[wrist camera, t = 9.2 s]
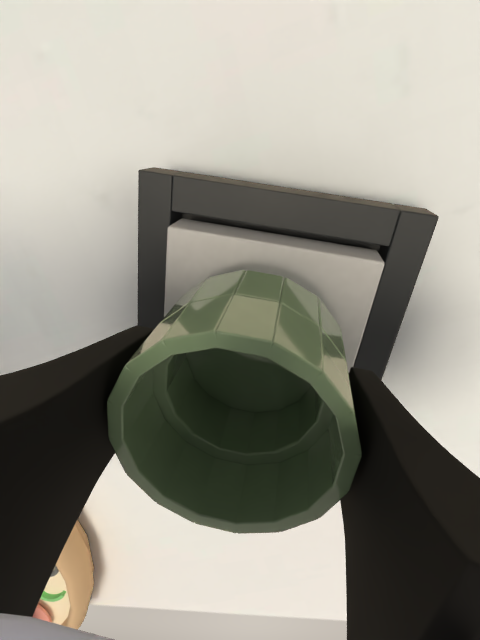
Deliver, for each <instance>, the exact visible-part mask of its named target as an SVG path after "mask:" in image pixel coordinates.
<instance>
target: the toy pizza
mask: <svg viewBox="0 0 480 640" xmlns="http://www.w3.org/2000/svg"><path fill="white" fill-rule="evenodd" d="M93 570H94V566H93V561H92V556H91V551H90V547H89V542H88V537H87V535H86V533H85V531H84V530H83V528H82V526H81V525H80V523H79V521H78V520H77V521H76V523H75V525H74V527H73V529H72V531H71V534H70V536H69V538H68V540H67V542H66V544H65V546H64V548H63V550H62V552H61V554H60V556H59V559H58V561H57V563H56V565H55V567H54V569H53V572H52V574H51V576H50V578H49V580H48V582H47V585H46V587H45V589H44V591H43V593H42V596H41V598H40V600H39V602H38V605H37V607H36V609H35V612H34V614H33V616H32V617H33V618H37V619H41V620H44V621H48V622H52V623H55V624H59V625H63V626H66V627H70V628H74V629H77V630H78V628H79V627H80V626H81V624H82V622H83V621H84V618H85V616H86V613H87V609H88V606H89V602H90V598H91V594H92V590H93V585H94V580H93Z"/></svg>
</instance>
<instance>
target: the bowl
mask: <svg viewBox="0 0 480 640" xmlns="http://www.w3.org/2000/svg"><path fill="white" fill-rule="evenodd" d="M107 416H108V438H109V441H110V443H111V445H112V447H113V449H114V451H115V453H116V455H117V457H118V459H119V461H120V463H121V465H122V467H123V469H124V471H125V473H127V475H128V476H129V477H130V478H131V479H132V480H133V481H134V482H135V483H136V484H137V485H138V486H139V487H140V488H141V489H142V490H143V491H144V492H145V493H146V494H147V495H148V496H149V497H150V498H152V499H153V500H154V501H155V502H157V504H159V505H161V506H163V507H165V508H167V509H168V510H170V511H172V512H174V513H176V514H178V515H180V516H182V517H183V518H185V519H187V520H189V521H191V522H193V523H194V522H195V523H196V524H199V525H203V526H208V527H212V528H216V529H220V530H224V531H228V532H233V533H271V532H282V531H285V530H288V529H291V528H294V527H297V526H299V525H302V524H305V523H308V522H311V521H314V520H316V519H318V518H320V517H322V516H323V515H324V514H325V513H326V512H327V511H328V510H329V509H330V508H332V507H333V506H334V505H335V504H336V503H337V502H338V501H339V500H341V499H342V498H343V497H344V496H345V495H346V494H347V493H348V491H349V490H350V487H351V485H352V482H353V479H354V477H355V474H356V471H357V468H358V466H359V463H360V460H361V457H362V448H361V442H360V436H359V430H358V424H357V419H356V413H355V407H354V401H353V395H352V389H351V383H350V377H349V371H348V365H347V359H346V354H345V348H344V343H343V337H342V332H341V329H340V326H339V324H338V323H337V322H336V320H335V319H334V317H333V316H332V315H331V313H330V312H329V310H328V309H327V308H326V306H325V305H324V304H323V302H322V301H321V299H319V298H318V297H317V296H316V295H314V294H313V293H311V292H309V291H308V290H306V289H305V288H303V287H301V286H300V285H298V284H296V283H295V282H293V281H292V280H290V279H288V278H284V277H282V276H278V275H272V274H267V273H261V272H255V271H250V270H247V271H245V270H240V271H235V272H231V273H226V274H221V275H217V276H212V277H209V278H207V279H205V280H204V281H202V282H201V283H200V284H198V285H197V286H195V287H194V288H193V289H191V290H190V291H188V292H187V293H186V294H184V295H183V296H182V297H181V298H180V299H179V300H178V301H177V302H176V304H175V305H174V306H173V307H172V308H171V310H170V311H169V312H168V313H167V315H166V316H165V317H164V318H163V319H162V321H161V322H160V323H159V324H158V326H157V327H156V328H155V329H154V330H153V332H152V333H151V334H150V335H149V336H148V338H147V339H146V340H145V341H144V342H143V344H142V345H141V346H140V347H139V349H138V350H137V351H136V352H135V353H134V355H133V356H132V357H131V358H130V360H129V361H128V362H127V363H126V364H125V366H124V367H123V369H122V371H121V373H120V375H119V377H118V379H117V381H116V383H115V385H114V387H113V389H112V391H111V393H110V395H109V397H108V401H107Z"/></svg>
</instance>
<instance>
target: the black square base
mask: <svg viewBox="0 0 480 640" xmlns="http://www.w3.org/2000/svg"><path fill="white" fill-rule="evenodd" d="M182 218H183V219H189V220H196V221H202V222H208V223H214V224H220V225H226V226H232V227H238V228H244V229H251V230H257V231H263V232H269V233H275V234H281V235H287V236H293V237H299V238H306V239H312V240H318V241H324V242H330V243H336V244H342V245H348V246H354V247H361V248H367V249H373V250H376V251H377V252H378V253H379V255H380V256H381V258H382V260H383V261H384V264H385V265H384V268H383V271H382V274H381V278H380V281H379V284H378V287H377V291H376V294H375V297H374V301H373V304H372V307H371V310H370V314H369V317H368V320H367V323H366V327H365V330H364V333H363V336H362V340H361V343H360V346H359V349H358V353H357V356H356V359H355V362H354V366H353V367H355V368H360V369H365V370H370V371H373V372H374V373H375V374H376V375H377V376H378V378H379V379H380V380H382V377H383V374H384V371H385V368H386V365H387V363H388V360H389V357H390V354H391V351H392V348H393V346H394V343H395V340H396V337H397V334H398V331H399V328H400V326H401V323H402V320H403V317H404V314H405V311H406V309H407V306H408V303H409V300H410V297H411V294H412V292H413V289H414V286H415V283H416V280H417V277H418V275H419V272H420V269H421V266H422V263H423V260H424V258H425V255H426V252H427V249H428V246H429V243H430V241H431V238H432V235H433V232H434V229H435V226H436V224H437V221H438V216H437V215H435V214H434V213H432V212H430V211H429V210H427V209H423V208H417V207H410V206H404V205H397V204H394V205H393V204H391V203H385V202H378V201H371V200H365V199H358V198H352V197H345V196H339V195H332V194H325V193H319V192H312V191H306V190H299V189H293V188H286V187H279V186H273V185H266V184H260V183H253V182H246V181H240V180H233V179H227V178H220V177H214V176H207V175H200V174H194V173H187V172H185V173H184V172H181V171H174V170H168V169H161V168H148V169H142V170H139V199H138V326H142V327H147V328H153V329H155V328H156V327H157V326H158V324H159V323H160V322H161V321H162V319H163V318H164V305H165V280H166V255H167V230H168V227H169V226H170V225H172V224H173V223H175V222H177V221H178V220H180V219H182Z"/></svg>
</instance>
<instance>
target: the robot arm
mask: <svg viewBox="0 0 480 640" xmlns="http://www.w3.org/2000/svg"><path fill="white" fill-rule="evenodd" d="M153 330H154V329H153V328H147V327H142V326H135V327H132V328H129V329H127V330H124V331H122V332H120V333H117V334H115V335H113V336H110V337H108V338H106V339H104V340H101V341H99V342H97V343H94V344H92V345H90V346H87V347H85V348H83V349H80V350H78V351H75V352H72V353H70V354H67V355H65V356H62V357H59V358H57V359H54V360H51V361H49V362H46V363H43V364H40V365H37V366H33V367H30V368H27V369H23V370H20V371H16V372H13V373H9V374H5V375H1V376H0V640H114V639H110V638H106V637H103V636H99V635H95V634H92V633H88V632H85V631H81V630H77V629H74V628H70V627H66V626H63V625H59V624H55V623H52V622H48V621H44V620H41V619H37V618H33V617H32V616H33V614H34V612H35V609H36V607H37V605H38V602H39V600H40V598H41V596H42V593H43V591H44V589H45V587H46V585H47V582H48V580H49V578H50V576H51V574H52V572H53V569H54V567H55V565H56V563H57V561H58V559H59V556H60V554H61V552H62V550H63V548H64V546H65V544H66V542H67V540H68V538H69V536H70V534H71V531H72V529H73V527H74V525H75V523H76V521H77V519H78V517H79V515H80V513H81V511H82V509H83V507H84V505H85V503H86V502H87V500H88V498H89V496H90V494H91V492H92V490H93V488H94V486H95V484H96V482H97V481H98V479H99V477H100V476H101V474H102V472H103V470H104V469H105V467H106V466H107V464H108V463H109V461H110V460H111V458H112V457H113V455H114V454H115V451H114V449H113V447H112V445H111V443H110V441H109V438H108V416H107V401H108V397H109V395H110V393H111V391H112V389H113V387H114V385H115V383H116V381H117V379H118V377H119V375H120V373H121V371H122V369H123V367H124V366H125V364H126V363H127V362H128V361H129V360H130V358H131V357H132V356H133V355H134V353H135V352H136V351H137V350H138V349H139V347H140V346H141V345H142V344H143V342H144V341H145V340H146V339H147V338H148V336H149V335H150V334H151V333H152V332H153ZM349 377H350V383H351V389H352V395H353V401H354V407H355V413H356V419H357V424H358V430H359V436H360V442H361V448H362V457H361V460H360V463H359V466H358V468H357V471H356V474H355V477H354V479H353V482H352V485H351V487H350V490H349V491H348V493H347V494H346V495H345V496H344V497H343V498H342V499H341V508H342V515H343V523H344V533H345V550H346V587H347V640H480V478H479V477H478V476H476V475H475V474H474V473H473V472H471V471H470V470H469V469H468V468H467V467H466V466H464V465H463V464H462V463H461V462H460V461H459V460H457V459H456V458H455V457H454V456H453V455H451V454H450V453H449V452H448V451H447V450H446V449H445V448H444V447H443V446H442V445H440V444H439V443H438V442H437V441H436V440H435V439H434V438H433V437H432V436H431V435H430V434H429V433H428V432H427V431H426V430H425V429H424V428H423V427H422V426H421V425H420V424H419V423H418V422H417V421H416V420H415V418H414V417H413V416H412V415H411V414H410V413H409V412H408V411H407V410H406V409H405V408H404V406H403V405H402V404H401V403H400V402H399V401H398V400H397V398H396V397H395V396H394V395H393V394H392V393H391V391H390V390H389V389H388V388H387V387H386V386H385V384H384V383H383V382H382V381H381V380H380V379H379V378H378V376H377V375H376V374H375V373H374V372H373V371H370V370H365V369H360V368H355V367H351V368H350V372H349Z"/></svg>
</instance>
